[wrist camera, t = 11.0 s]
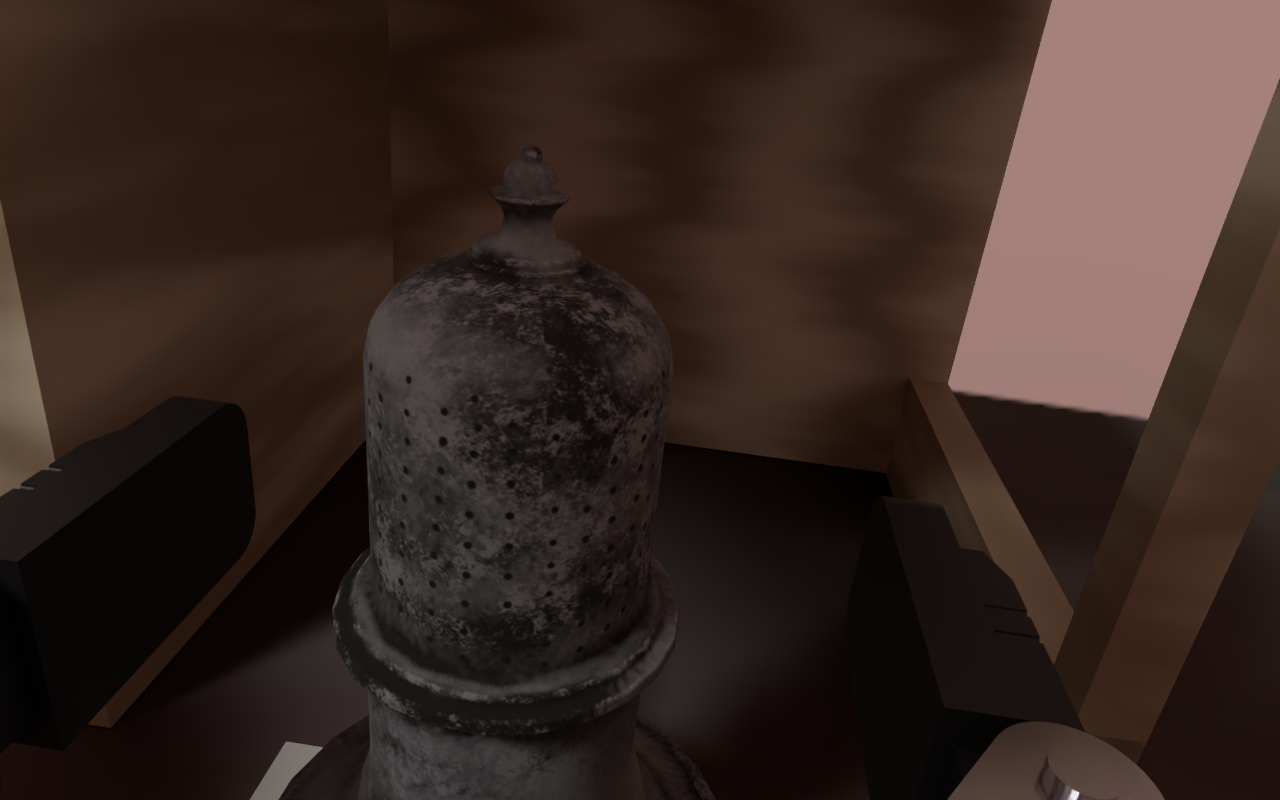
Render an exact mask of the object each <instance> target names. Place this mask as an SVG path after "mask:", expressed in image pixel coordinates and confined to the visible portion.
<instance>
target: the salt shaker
mask: <svg viewBox="0 0 1280 800" xmlns="http://www.w3.org/2000/svg"><path fill="white" fill-rule="evenodd" d="M556 187H557V177H556V172H555V171H554V169H553V168H552V167H551V166H550V165H549V164H547V163H544V162H543V155H542V151H541V150H540V149H539V148H538V147H537V146H534V145H526V146H525V147H524V148H523V149H521V152H520V158H519V160H517V161H513V162H512V163H510V164H509V165H508V166H507V167H506V169H505V172H504V175H503V185H498V186H494V187H492V188H491V189H489V190H488V193H489V194H490V195H491V196H492V197H493V199H494V200H495V201H496V202H497V203H498V204H499V205H500V206H501V207H502V211H503V214H504V217H503V221H502V225H501V228H500V232H499V233H495V234H490V235H485V236H482V237H480V238H478V239H477V240H476V241H475V242H474V243H473V245H472V247H470V248H469V249H468V250H463V251H458V252H453V253H450V254H447V255H445V256H442V257H439V258H437V259H435V260H433V261H431V262H430V263H428V264H426V265H425V266H423V267H421V268H419V269H418V270H416V271H414V272H412V273H411V274H409V275H408V276H406V277H405V278H403V279H402V280H401V281H399V282H398V283H397V284H395V286H394V287H393V288H392V290H391V291H390V292H389V293H388V295H387V296H386V297H385V299H384V300H383V301H382V302H381V304H380V305H379V306H378V308H377V309H376V310H375V312H374V315H373V317H372V319H371V321H370V323H369V328H368V333H367V337H366V342H365V347H364V352H363V374H364V400H365V426H366V452H367V478H368V505H369V531H370V548H368V549H367V550H366V551H364V552H363V553H362V554H361V555H360V556H359V557H358V558H357V560H356V561H355V562H354V564H353V565H352V566H351V568H350V569H349V570H348V572H347V573H346V574H345V576H344V577H343V578H342V580H341V582H340V585H339V589H338V592H337V595H336V598H335V602H334V605H333V608H332V616H333V625H334V633H335V642H336V648H337V650H338V652H339V654H340V655H341V657H342V659H343V661H344V662H345V664H346V666H347V668H348V669H349V671H350V673H351V674H352V676H353V678H354V679H355V680H356V681H357V682H359V683H360V684H361V685H362V686H363V687H364V688H366V689H367V690H368V704H369V715H368V716H367V717H365V718H363V719H362V720H360V721H359V722H357V723H356V724H354V725H353V726H351V727H349V728H348V729H346V730H345V731H343V732H342V733H340V734H339V735H337V736H335V737H334V738H332V739H331V740H330V741H329V742H328V743H327V744H326V745H325V746H324V747H323V748H322V749H321V750H320V751H319V752H318V753H317V754H316V755H315V756H314V757H313V758H312V759H311V760H310V761H309V762H308V763H307V764H306V765H305V766H304V767H303V768H302V769H301V770H300V771H299V772H298V773H297V774H296V775H295V776H294V777H293V778H292V779H291V781H290V782H289V784H288V785H287V787H286V788H285V790H284V792H283V793H282V795H281V796H280V798H279V799H278V800H716V799H715V797H714V795H713V793H712V792H711V790H710V788H709V786H708V784H707V782H706V781H705V779H704V777H703V775H702V773H701V772H700V770H699V768H698V767H697V766H696V765H695V764H694V763H693V762H692V761H691V760H690V758H689V757H688V756H687V755H686V754H685V753H684V752H683V751H682V750H681V749H680V748H679V747H678V746H677V745H676V744H675V742H674V741H673V740H672V739H671V738H670V737H669V736H668V735H667V734H666V733H665V732H664V731H663V730H661V729H660V728H658V727H657V726H655V725H654V724H652V723H651V722H649V721H648V720H646V719H645V718H643V717H642V716H640V715H639V714H638V706H639V699H640V692H641V691H642V690H643V689H644V688H645V687H646V686H647V685H649V684H650V683H651V682H652V681H653V680H654V679H655V678H657V677H658V675H659V674H660V672H661V670H662V668H663V667H664V665H665V663H666V661H667V660H668V658H669V656H670V654H671V653H672V651H673V649H674V648H675V642H676V635H677V628H678V621H679V615H680V609H679V605H678V601H677V597H676V593H675V589H674V585H673V582H672V581H671V579H670V578H669V576H668V575H667V573H666V572H665V570H664V569H663V567H662V566H661V564H660V563H659V561H658V560H657V559H656V558H655V557H654V556H653V555H652V554H651V547H652V539H653V531H654V523H655V515H656V507H657V499H658V491H659V483H660V475H661V467H662V459H663V451H664V443H665V435H666V427H667V419H668V411H669V404H670V396H671V388H672V380H673V372H674V367H673V358H672V349H671V340H670V337H669V335H668V332H667V330H666V328H665V325H664V324H663V322H662V320H661V319H660V317H659V315H658V314H657V312H656V310H655V309H654V307H653V305H652V304H651V302H650V300H649V299H648V298H647V297H646V296H645V295H644V294H642V293H641V292H640V291H639V290H638V289H637V288H635V287H634V286H633V285H631V284H630V283H629V282H628V281H626V280H625V279H624V278H622V277H621V276H620V275H618V274H617V273H616V272H614V271H613V270H612V269H610V268H608V267H606V266H604V265H602V264H600V263H598V262H595V261H592V260H589V259H586V258H585V257H584V256H583V255H582V254H581V251H580V250H579V248H578V247H577V246H576V245H575V244H574V243H571V242H569V241H567V240H564V239H561V238H558V237H556V235H555V228H554V222H553V218H554V215H555V212H556V210H558V209H559V208H560V207H561V206H563V205H564V204H565V203H566V202H568V201H569V200H570V195H568V194H567V193H566V192H564V191H561V190H558V189H557V188H556Z"/></svg>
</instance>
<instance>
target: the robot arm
mask: <svg viewBox="0 0 1280 800" xmlns="http://www.w3.org/2000/svg"><path fill="white" fill-rule="evenodd" d="M255 518H256V507H255V497H254V487H253V477H252V467H251V457H250V447H249V438H248V428H247V421H246V417H245V414H244V412H243V410H242V409H241V408H240V407H239V406H238V405H236V404H234V403H227V402H220V401H213V400H206V399H199V398H192V397H184V396H173V397H170V398H168V399H167V400H165V401H164V402H162V403H161V404H159V405H158V406H156V407H155V408H153V409H152V410H150V411H149V412H147V413H146V414H144V415H143V416H141V417H140V418H138V419H137V420H135V421H134V422H132V423H131V424H129V425H128V426H126V427H125V428H122V429H120V430H117V431H114V432H112V433H109V434H106V435H103V436H101V437H98V438H95V439H93V440H90V441H87V442H85V443H82V444H80V445H79V446H77V447H76V448H74V449H73V450H71V451H70V452H68V453H67V454H65V455H64V456H62V457H61V458H59V459H57V460H56V461H54V462H53V463H51V464H50V465H49V468H48V470H41V471H39V472H38V473H36V474H34V475H33V476H31V477H30V478H28V479H27V480H25V481H24V482H22V483H21V486H20V488H19V489H15V488H13V489H11V490H10V491H8V492H7V493H5V494H4V495H2V496H1V497H0V754H1V753H2V752H3V751H4V750H5V749H6V748H7V747H8V746H9V745H10V744H11V743H12V742H13V743H19V744H25V745H31V746H37V747H43V748H49V749H55V750H61V751H63V750H64V749H65V748H66V747H67V746H68V745H69V744H70V743H71V742H72V741H73V740H74V738H75V737H76V736H77V735H78V734H79V733H80V732H81V731H82V730H83V729H84V728H85V727H86V725H87V724H88V723H89V722H90V721H91V720H92V719H93V718H94V717H95V716H96V715H97V713H98V712H99V711H100V710H101V709H102V708H103V707H104V706H105V705H106V704H107V703H108V702H109V700H110V699H111V698H112V697H113V696H114V695H115V694H116V693H117V692H118V691H119V690H120V688H121V687H122V686H123V685H124V684H125V683H126V682H127V681H128V680H129V679H130V678H131V677H132V675H133V674H134V673H135V672H136V671H137V670H138V669H139V668H140V667H141V666H142V665H143V663H144V662H145V661H146V660H147V659H148V658H149V657H150V656H151V655H152V654H153V653H154V652H155V650H156V649H157V648H158V647H159V646H160V645H161V644H162V643H163V642H164V641H165V640H166V639H167V637H168V636H169V635H170V634H171V633H172V632H173V631H174V630H175V629H176V628H177V627H178V625H179V624H180V623H181V622H182V621H183V620H184V619H185V618H186V617H187V616H188V615H189V614H190V612H191V611H192V610H193V609H194V608H195V607H196V606H197V605H198V604H199V603H200V602H201V600H202V599H203V598H204V597H205V596H206V595H207V594H208V593H209V592H210V591H211V590H212V589H213V587H214V586H215V585H216V584H217V583H218V582H219V581H220V580H221V579H222V578H223V577H224V575H225V574H226V573H227V572H228V571H229V570H230V569H231V568H232V567H233V566H234V565H235V564H236V562H237V561H238V560H239V559H240V558H241V557H242V555H243V554H244V552H245V551H246V549H247V547H248V545H249V542H250V540H251V537H252V534H253V530H254V526H255ZM1039 639H1040V636H1039V634H1038V632H1037V629H1036V627H1035V625H1034V623H1033V621H1032V619H1031V617H1028V616H1027V608H1026V606H1025V604H1024V602H1023V600H1022V598H1021V596H1020V594H1019V592H1018V590H1017V588H1016V585H1015V583H1014V581H1013V580H1012V579H1011V578H1010V577H1009V576H1008V575H1007V574H1006V573H1005V572H1004V571H1003V570H1002V569H1001V568H1000V567H999V566H998V565H997V564H996V563H995V562H993V561H992V560H991V559H990V558H989V557H988V556H987V555H986V554H985V553H984V552H983V551H978V550H971V549H964V548H960V546H959V544H958V541H957V539H956V536H955V534H954V531H953V529H952V526H951V524H950V521H949V519H948V517H947V514H946V512H945V509H944V508H943V506H942V505H940V504H935V503H928V502H921V501H914V500H907V499H900V498H893V497H886V496H878V497H877V498H876V500H875V501H874V503H873V506H872V509H871V512H870V516H869V520H868V524H867V528H866V532H865V536H864V540H863V544H862V548H861V552H860V556H859V560H858V564H857V568H856V572H855V576H854V580H853V584H852V588H851V592H850V596H849V601H848V606H847V613H846V623H845V649H846V656H847V662H848V668H849V675H850V681H851V687H852V693H853V699H854V705H855V712H856V718H857V724H858V730H859V736H860V742H861V749H862V755H863V761H864V767H865V773H866V780H867V786H868V792H869V798H870V800H1164V798H1163V796H1162V794H1161V793H1160V791H1159V790H1158V788H1157V787H1156V785H1155V784H1154V783H1153V782H1152V780H1151V779H1150V778H1149V777H1148V776H1147V775H1146V774H1145V772H1144V771H1143V770H1141V769H1140V768H1139V767H1138V766H1137V765H1136V764H1135V763H1134V762H1133V761H1132V760H1130V759H1129V758H1128V757H1126V756H1125V755H1124V754H1122V753H1121V752H1120V751H1118V750H1117V749H1115V748H1114V747H1112V746H1110V745H1109V744H1107V743H1106V742H1104V741H1102V740H1100V739H1098V738H1096V737H1094V736H1092V735H1090V734H1088V733H1086V732H1085V730H1084V728H1083V726H1082V724H1081V722H1080V720H1079V717H1078V715H1077V713H1076V711H1075V709H1074V707H1073V705H1072V703H1071V701H1070V699H1069V697H1068V694H1067V692H1066V690H1065V688H1064V686H1063V684H1062V682H1061V680H1060V678H1059V676H1058V673H1057V671H1056V669H1055V667H1054V665H1053V663H1052V661H1051V659H1050V657H1049V655H1048V653H1047V650H1046V648H1045V646H1044V644H1043V643H1040V642H1039ZM0 786H1V782H0Z"/></svg>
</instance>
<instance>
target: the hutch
mask: <svg viewBox="0 0 1280 800" xmlns="http://www.w3.org/2000/svg"><path fill="white" fill-rule="evenodd" d="M1051 2H1052V0H0V497H1V496H2V495H4V494H5V493H7V492H8V491H10V490H11V489H13V488H15V489H19V488H20V486H21V483H22V482H24V481H25V480H27V479H28V478H30V477H31V476H33V475H34V474H36V473H38V472H39V471H41V470H48V468H49V465H50V464H51V463H53V462H54V461H56V460H57V459H59V458H61V457H62V456H64V455H65V454H67V453H68V452H70V451H71V450H73V449H74V448H76V447H77V446H79V445H80V444H82V443H85V442H87V441H90V440H93V439H95V438H98V437H101V436H103V435H106V434H109V433H112V432H114V431H117V430H120V429H122V428H125V427H126V426H128V425H129V424H131V423H132V422H134V421H135V420H137V419H138V418H140V417H141V416H143V415H144V414H146V413H147V412H149V411H150V410H152V409H153V408H155V407H156V406H158V405H159V404H161V403H162V402H164V401H165V400H167V399H168V398H170V397H173V396H184V397H192V398H199V399H206V400H213V401H220V402H227V403H234V404H236V405H238V406H239V407H240V408H241V409H242V410H243V412H244V414H245V417H246V421H247V428H248V438H249V447H250V457H251V467H252V477H253V487H254V497H255V507H256V518H255V526H254V530H253V534H252V537H251V540H250V542H249V545H248V547H247V549H246V551H245V552H244V554H243V555H242V557H241V558H240V559H239V560H238V561H237V562H236V564H235V565H234V566H233V567H232V568H231V569H230V570H229V571H228V572H227V573H226V574H225V575H224V577H223V578H222V579H221V580H220V581H219V582H218V583H217V584H216V585H215V586H214V587H213V589H212V590H211V591H210V592H209V593H208V594H207V595H206V596H205V597H204V598H203V599H202V600H201V602H200V603H199V604H198V605H197V606H196V607H195V608H194V609H193V610H192V611H191V612H190V614H189V615H188V616H187V617H186V618H185V619H184V620H183V621H182V622H181V623H180V624H179V625H178V627H177V628H176V629H175V630H174V631H173V632H172V633H171V634H170V635H169V636H168V637H167V639H166V640H165V641H164V642H163V643H162V644H161V645H160V646H159V647H158V648H157V649H156V650H155V652H154V653H153V654H152V655H151V656H150V657H149V658H148V659H147V660H146V661H145V662H144V663H143V665H142V666H141V667H140V668H139V669H138V670H137V671H136V672H135V673H134V674H133V675H132V677H131V678H130V679H129V680H128V681H127V682H126V683H125V684H124V685H123V686H122V687H121V688H120V690H119V691H118V692H117V693H116V694H115V695H114V696H113V697H112V698H111V699H110V700H109V702H108V703H107V704H106V705H105V706H104V707H103V708H102V709H101V710H100V711H99V712H98V713H97V715H96V716H95V717H94V718H93V719H92V720H91V721H90V722H89V723H88V724H89V725H95V726H101V727H107V728H111V727H112V726H113V725H114V724H115V723H116V722H117V721H118V719H119V718H120V717H121V716H122V715H123V714H124V713H125V712H126V710H127V709H128V708H129V707H130V706H131V705H132V704H133V702H134V701H135V700H136V699H137V698H138V697H139V696H140V695H141V693H142V692H143V691H144V690H145V689H146V688H147V687H148V685H149V684H150V683H151V682H152V681H153V680H154V679H155V678H156V676H157V675H158V674H159V673H160V672H161V671H162V670H163V668H164V667H165V666H166V665H167V664H168V663H169V662H170V661H171V659H172V658H173V657H174V656H175V655H176V654H177V653H178V651H179V650H180V649H181V648H182V647H183V646H184V645H185V644H186V642H187V641H188V640H189V639H190V638H191V637H192V636H193V634H194V633H195V632H196V631H197V630H198V629H199V628H200V627H201V625H202V624H203V623H204V622H205V621H206V620H207V619H208V618H209V616H210V615H211V614H212V613H213V612H214V611H215V610H216V608H217V607H218V606H219V605H220V604H221V603H222V602H223V601H224V599H225V598H226V597H227V596H228V595H229V594H230V593H231V591H232V590H233V589H234V588H235V587H236V586H237V585H238V584H239V582H240V581H241V580H242V579H243V578H244V577H245V576H246V574H247V573H248V572H249V571H250V570H251V569H252V568H253V567H254V565H255V564H256V563H257V562H258V561H259V560H260V559H261V557H262V556H263V555H264V554H265V553H266V552H267V551H268V550H269V548H270V547H271V546H272V545H273V544H274V543H275V542H276V540H277V539H278V538H279V537H280V536H281V535H282V534H283V533H284V531H285V530H286V529H287V528H288V527H289V526H290V525H291V523H292V522H293V521H294V520H295V519H296V518H297V517H298V516H299V514H300V513H301V512H302V511H303V510H304V509H305V508H306V506H307V505H308V504H309V503H310V502H311V501H312V500H313V499H314V497H315V496H316V495H317V494H318V493H319V492H320V491H321V489H322V488H323V487H324V486H325V485H326V484H327V483H328V482H329V480H330V479H331V478H332V477H333V476H334V475H335V474H336V472H337V471H338V470H339V469H340V468H341V467H342V466H343V465H344V463H345V462H346V461H347V460H348V459H349V458H350V457H351V455H352V454H353V453H354V452H355V451H356V450H357V449H358V448H359V446H360V445H361V444H362V443H363V442H364V441H365V440H366V426H365V400H364V374H363V352H364V347H365V342H366V337H367V333H368V328H369V323H370V321H371V319H372V317H373V315H374V312H375V310H376V309H377V308H378V306H379V305H380V304H381V302H382V301H383V300H384V299H385V297H386V296H387V295H388V293H389V292H390V291H391V290H392V288H393V287H394V286H395V284H397V283H398V282H399V281H401V280H402V279H403V278H405V277H406V276H408V275H409V274H411V273H412V272H414V271H416V270H418V269H419V268H421V267H423V266H425V265H426V264H428V263H430V262H431V261H433V260H435V259H437V258H439V257H442V256H445V255H447V254H450V253H453V252H458V251H463V250H468V249H469V248H470V247H472V245H473V243H474V242H475V241H476V240H477V239H478V238H480V237H482V236H485V235H490V234H495V233H499V232H500V228H501V225H502V221H503V217H504V214H503V211H502V207H501V206H500V205H499V204H498V203H497V202H496V201H495V200H494V199H493V197H492V196H491V195H490V194H489V193H488V190H489V189H491V188H492V187H494V186H498V185H503V175H504V172H505V169H506V167H507V166H508V165H509V164H510V163H512V162H513V161H517V160H519V158H520V152H521V149H523V148H524V147H525V146H526V145H534V146H537V147H538V148H539V149H540V150H541V151H542V155H543V162H544V163H547V164H549V165H550V166H551V167H552V168H553V169H554V171H555V172H556V177H557V187H556V188H557V189H558V190H561V191H564V192H566V193H567V194H568V195H570V200H569V201H568V202H566V203H565V204H564V205H563V206H561V207H560V208H559V209H558V210H556V212H555V215H554V218H553V222H554V228H555V235H556V237H558V238H561V239H564V240H567V241H569V242H571V243H574V244H575V245H576V246H577V247H578V248H579V250H580V251H581V254H582V255H583V256H584V257H585V258H586V259H589V260H592V261H595V262H598V263H600V264H602V265H604V266H606V267H608V268H610V269H612V270H613V271H614V272H616V273H617V274H618V275H620V276H621V277H622V278H624V279H625V280H626V281H628V282H629V283H630V284H631V285H633V286H634V287H635V288H637V289H638V290H639V291H640V292H641V293H642V294H644V295H645V296H646V297H647V298H648V299H649V300H650V302H651V304H652V305H653V307H654V309H655V310H656V312H657V314H658V315H659V317H660V319H661V320H662V322H663V324H664V325H665V328H666V330H667V332H668V335H669V337H670V340H671V349H672V358H673V367H674V372H673V380H672V388H671V396H670V404H669V411H668V419H667V427H666V435H665V442H666V443H673V444H680V445H687V446H695V447H702V448H709V449H716V450H723V451H730V452H738V453H745V454H752V455H759V456H766V457H774V458H781V459H788V460H795V461H802V462H810V463H817V464H824V465H831V466H838V467H846V468H853V469H860V470H867V471H874V472H881V473H886V474H887V478H888V481H889V484H890V487H891V490H892V494H893V497H894V498H900V499H907V500H914V501H921V502H928V503H935V504H940V505H942V506H943V508H944V509H945V512H946V514H947V517H948V519H949V521H950V524H951V526H952V529H953V531H954V534H955V536H956V539H957V541H958V544H959V546H960V548H964V549H971V550H978V551H983V552H984V553H985V554H986V555H987V556H988V557H989V558H990V559H991V560H992V561H993V562H995V563H996V564H997V565H998V566H999V567H1000V568H1001V569H1002V570H1003V571H1004V572H1005V573H1006V574H1007V575H1008V576H1009V577H1010V578H1011V579H1012V580H1013V581H1014V583H1015V585H1016V588H1017V590H1018V592H1019V594H1020V596H1021V598H1022V600H1023V602H1024V604H1025V606H1026V608H1027V616H1028V617H1031V619H1032V621H1033V623H1034V625H1035V627H1036V629H1037V632H1038V634H1039V636H1040V639H1039V642H1040V643H1043V644H1044V646H1045V648H1046V650H1047V653H1048V655H1049V657H1050V659H1051V661H1052V663H1053V665H1054V667H1055V669H1056V671H1057V673H1058V676H1059V678H1060V680H1061V682H1062V684H1063V686H1064V688H1065V690H1066V692H1067V694H1068V697H1069V699H1070V701H1071V703H1072V705H1073V707H1074V709H1075V711H1076V713H1077V715H1078V717H1079V720H1080V722H1081V724H1082V726H1083V728H1084V730H1085V732H1086V733H1088V734H1090V735H1092V736H1094V737H1096V738H1098V739H1100V740H1102V741H1104V742H1106V743H1107V744H1109V745H1110V746H1112V747H1114V748H1115V749H1117V750H1118V751H1120V752H1121V753H1122V754H1124V755H1125V756H1126V757H1128V758H1129V759H1130V760H1132V761H1133V762H1134V763H1135V764H1136V765H1137V763H1138V761H1139V759H1140V756H1141V754H1142V752H1143V750H1144V748H1145V746H1146V744H1147V741H1148V739H1149V737H1150V735H1151V733H1152V731H1153V729H1154V726H1155V724H1156V722H1157V720H1158V718H1159V716H1160V714H1161V711H1162V709H1163V707H1164V705H1165V703H1166V701H1167V699H1168V696H1169V694H1170V692H1171V690H1172V688H1173V686H1174V683H1175V681H1176V679H1177V677H1178V675H1179V673H1180V671H1181V668H1182V666H1183V664H1184V662H1185V660H1186V658H1187V656H1188V653H1189V651H1190V649H1191V647H1192V645H1193V643H1194V641H1195V638H1196V636H1197V634H1198V632H1199V630H1200V628H1201V626H1202V623H1203V621H1204V619H1205V617H1206V615H1207V613H1208V611H1209V608H1210V606H1211V604H1212V602H1213V600H1214V598H1215V596H1216V593H1217V591H1218V589H1219V587H1220V585H1221V583H1222V580H1223V578H1224V576H1225V574H1226V572H1227V570H1228V568H1229V565H1230V563H1231V561H1232V559H1233V557H1234V555H1235V553H1236V550H1237V548H1238V546H1239V544H1240V542H1241V540H1242V538H1243V535H1244V533H1245V531H1246V529H1247V527H1248V525H1249V523H1250V520H1251V518H1252V516H1253V514H1254V512H1255V510H1256V508H1257V505H1258V503H1259V501H1260V499H1261V497H1262V495H1263V493H1264V490H1265V488H1266V486H1267V484H1268V482H1269V480H1270V478H1271V475H1272V473H1273V471H1274V469H1275V467H1276V465H1277V462H1278V460H1279V458H1280V80H1279V82H1278V85H1277V88H1276V90H1275V93H1274V95H1273V98H1272V101H1271V103H1270V105H1269V108H1268V111H1267V113H1266V116H1265V118H1264V121H1263V124H1262V126H1261V129H1260V131H1259V134H1258V137H1257V139H1256V142H1255V144H1254V147H1253V150H1252V152H1251V155H1250V157H1249V160H1248V163H1247V165H1246V168H1245V170H1244V173H1243V176H1242V178H1241V181H1240V183H1239V186H1238V189H1237V191H1236V194H1235V196H1234V199H1233V202H1232V204H1231V207H1230V209H1229V212H1228V214H1227V217H1226V220H1225V222H1224V225H1223V228H1222V230H1221V233H1220V235H1219V238H1218V240H1217V243H1216V246H1215V248H1214V251H1213V254H1212V256H1211V259H1210V261H1209V264H1208V266H1207V269H1206V271H1205V274H1204V277H1203V279H1202V282H1201V285H1200V287H1199V290H1198V292H1197V295H1196V297H1195V300H1194V303H1193V306H1192V308H1191V310H1190V313H1189V316H1188V318H1187V321H1186V323H1185V326H1184V328H1183V331H1182V334H1181V336H1180V339H1179V341H1178V344H1177V347H1176V350H1175V352H1174V355H1173V357H1172V360H1171V362H1170V365H1169V367H1168V370H1167V373H1166V375H1165V378H1164V380H1163V383H1162V386H1161V388H1160V391H1159V393H1158V396H1157V399H1156V401H1155V404H1154V406H1153V409H1152V412H1151V414H1150V417H1149V419H1148V422H1147V424H1146V427H1145V430H1144V432H1143V435H1142V437H1141V440H1140V443H1139V445H1138V448H1137V450H1136V453H1135V456H1134V458H1133V461H1132V463H1131V466H1130V469H1129V471H1128V474H1127V476H1126V479H1125V482H1124V484H1123V487H1122V489H1121V492H1120V494H1119V497H1118V500H1117V502H1116V505H1115V507H1114V510H1113V513H1112V515H1111V518H1110V520H1109V523H1108V526H1107V528H1106V531H1105V533H1104V536H1103V539H1102V541H1101V544H1100V546H1099V549H1098V552H1097V554H1096V557H1095V559H1094V562H1093V564H1092V567H1091V570H1090V572H1089V575H1088V577H1087V580H1086V583H1085V585H1084V588H1083V590H1082V593H1081V596H1080V598H1079V601H1078V603H1077V606H1076V609H1075V611H1073V609H1072V607H1071V605H1070V603H1069V602H1068V600H1067V598H1066V596H1065V594H1064V593H1063V591H1062V589H1061V587H1060V585H1059V584H1058V582H1057V580H1056V578H1055V576H1054V574H1053V573H1052V571H1051V569H1050V567H1049V565H1048V564H1047V562H1046V560H1045V558H1044V556H1043V555H1042V553H1041V551H1040V549H1039V547H1038V546H1037V544H1036V542H1035V540H1034V538H1033V537H1032V535H1031V533H1030V531H1029V529H1028V528H1027V526H1026V524H1025V522H1024V520H1023V519H1022V517H1021V515H1020V513H1019V511H1018V509H1017V508H1016V506H1015V504H1014V502H1013V500H1012V499H1011V497H1010V495H1009V493H1008V491H1007V490H1006V488H1005V486H1004V484H1003V482H1002V481H1001V479H1000V477H999V475H998V473H997V472H996V470H995V468H994V466H993V464H992V463H991V461H990V459H989V457H988V455H987V454H986V452H985V450H984V448H983V446H982V444H981V443H980V441H979V439H978V437H977V435H976V434H975V432H974V430H973V428H972V426H971V425H970V423H969V421H968V419H967V417H966V416H965V414H964V412H963V410H962V408H961V407H960V405H959V403H958V401H957V399H956V398H955V396H954V394H953V392H952V390H951V388H950V387H949V385H948V380H949V376H950V373H951V369H952V366H953V362H954V358H955V355H956V351H957V347H958V344H959V340H960V336H961V333H962V328H963V325H964V322H965V318H966V314H967V310H968V306H969V303H970V299H971V296H972V292H973V288H974V285H975V281H976V277H977V274H978V270H979V266H980V263H981V259H982V255H983V252H984V248H985V244H986V241H987V237H988V233H989V230H990V226H991V222H992V219H993V215H994V211H995V208H996V204H997V200H998V197H999V193H1000V189H1001V185H1002V182H1003V178H1004V174H1005V170H1006V167H1007V163H1008V160H1009V156H1010V152H1011V149H1012V145H1013V141H1014V138H1015V134H1016V130H1017V127H1018V123H1019V119H1020V116H1021V112H1022V108H1023V104H1024V101H1025V97H1026V93H1027V90H1028V86H1029V83H1030V79H1031V75H1032V72H1033V68H1034V64H1035V60H1036V57H1037V53H1038V49H1039V46H1040V42H1041V38H1042V35H1043V31H1044V27H1045V24H1046V20H1047V16H1048V13H1049V9H1050V5H1051Z"/></svg>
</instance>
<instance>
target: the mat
mask: <svg viewBox="0 0 1280 800" xmlns="http://www.w3.org/2000/svg"><path fill="white" fill-rule="evenodd" d="M322 748H323V747H317V746H311V745H305V744H299V743H292V742H286V743H285V744H284V746H283V747H282V749H281V751H280V752H279V754H278V755H277V757H276V759H275V760H274V762H273V763H272V765H271V766H270V768H269V770H268V771H267V773H266V774H265V776H264V778H263V779H262V781H261V782H260V784H259V786H258V787H257V789H256V790H255V792H254V794H253V795H252V797H251V798H250V800H278V799H279V798H280V796H281V795H282V793H283V792H284V790H285V788H286V787H287V785H288V784H289V782H290V781H291V779H292V778H293V777H294V776H295V775H296V774H297V773H298V772H299V771H300V770H301V769H302V768H303V767H304V766H305V765H306V764H307V763H308V762H309V761H310V760H311V759H312V758H313V757H314V756H315V755H316V754H317V753H318V752H319V751H320V750H321V749H322Z"/></svg>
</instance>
